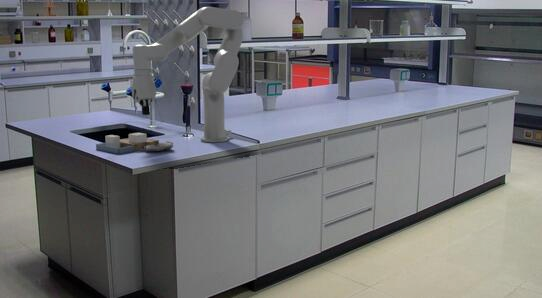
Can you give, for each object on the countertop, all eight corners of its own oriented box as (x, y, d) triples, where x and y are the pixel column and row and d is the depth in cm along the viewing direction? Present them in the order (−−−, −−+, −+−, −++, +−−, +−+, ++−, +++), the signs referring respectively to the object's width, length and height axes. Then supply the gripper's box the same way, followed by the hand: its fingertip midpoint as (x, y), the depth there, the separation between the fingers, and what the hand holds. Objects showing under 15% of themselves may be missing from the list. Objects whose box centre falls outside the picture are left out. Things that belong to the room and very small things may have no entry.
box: (111, 147, 263) (111, 141, 262) (134, 151, 253) (134, 145, 252) (96, 149, 257) (96, 144, 256) (118, 154, 247) (118, 148, 246)
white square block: (138, 140, 263) (138, 132, 262) (146, 141, 259) (146, 133, 259) (128, 142, 259) (128, 134, 258) (136, 143, 255) (136, 135, 255)
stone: (151, 153, 247) (151, 146, 246) (141, 151, 254) (141, 143, 253) (176, 149, 254) (176, 142, 254) (166, 147, 261) (165, 139, 261)
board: (137, 143, 273) (137, 136, 272) (159, 146, 264) (158, 140, 263) (112, 147, 262) (112, 140, 262) (133, 151, 253) (133, 144, 252)
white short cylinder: (111, 134, 260) (105, 135, 257) (119, 136, 256) (113, 137, 254) (112, 147, 261) (105, 148, 258) (120, 148, 257) (113, 149, 255)
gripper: (151, 71, 267) (153, 112, 271) (123, 74, 256) (127, 116, 259) (161, 72, 262) (164, 113, 266) (134, 74, 251) (137, 117, 255)
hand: (146, 114), depth 263 cm, fingers closed
